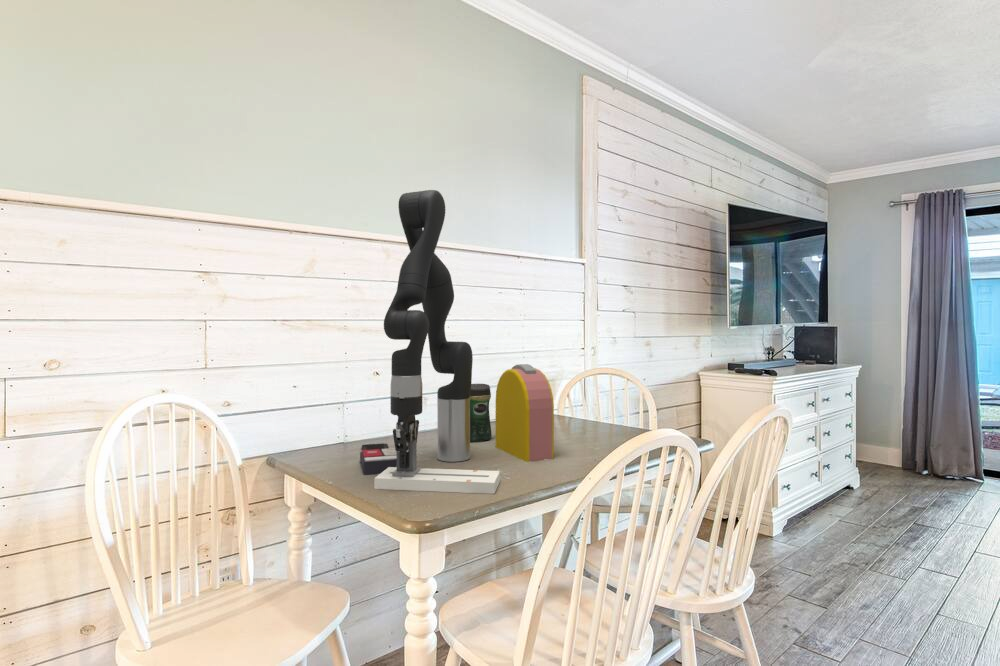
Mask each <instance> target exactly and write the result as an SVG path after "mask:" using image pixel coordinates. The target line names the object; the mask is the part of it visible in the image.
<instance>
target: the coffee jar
mask: <svg viewBox="0 0 1000 666" xmlns="http://www.w3.org/2000/svg"><path fill="white" fill-rule="evenodd" d="M491 393H492V392H491V387H490V385H489V384H486V383H471V390H470V443H472V442H473V443H475V442H485V441H489V440H491V439H492V428H491V427H492V426H491V418H490V400H491V398H492V394H491Z"/></svg>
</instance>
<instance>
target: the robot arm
mask: <svg viewBox="0 0 1000 666" xmlns="http://www.w3.org/2000/svg"><path fill="white" fill-rule="evenodd" d="M445 202H446V201H445V199H444V197H443V195H442V193H441V192H440V191H438V190H435V189H427V190H420V191H419V190H418V191H411V192H405V193H403V194H401V195H400V197H399V199H398V212H399V213H398V215H399V218H400V223H401V225H402V229H403V232H404V235H405V238H406V242H407V244H408V248H409V253H408V254H407V255H406V257H405V258H404V261H403V262H402V265H401V267H400V270H399V276H398V281H397V286H396V287H397V288H396V292H395V294H394V296H393V299H392V301H391V303H390V306H389V307H388V309H387V311H386V313H385V317H384V320H383V331H384V334H385V335H386V336H387V338H389V339H390V340H396V341H397V340H400V341H401V340H405V341H408V340H410V341H409V343H408V346H407V347H405V348H402V349H397V350H395V351H393V352H392V353H391V379H390V414H391V415H393V416H397V422H396V424H395V428H393V429H392V435H393V442H394V448H395V450H396V451H398V452H399V467H400V468H406V469H407V468H408V467H409V451H410V449H409V448H410V442H412V439H417V440H418V436H419V435H418V434H419V428H420V420H419V419H416V416H419V415H420V414H423V377H422V358H423V353H424V348H425V344H426V340H427V337H428V346H429V355H430V361H431V364H432V367H433V369H434V370H435V372H437V373H438V374H443V375H444V374H445V375H446V374H448V375H451V374H452V375H453V379H452V381H451V382H450V383H447V384H446V385H443V386H440V387H438V388H437V391H436V393H437V397H436V398H437V399H436V400H437V402H436V403H437V406H436V407H437V459H438V460H439V461H442V462H447V463H448V462H451V463H452V462H453V463H455V462H464V461H468V460H469V459H470V457H471V451H470V450H471V445H470V444H471V442H470V390H471V384H472V379H473V378H472V376H473V360H474V359H473V350H472V347H471V345H470V344H469V343H468V342H466V341H450V340H449V341H448V340H447V338H446V331H445V330H446V329H445V325H446V322H447V318H448V316H449V314H450V311H451V309H452V306H453V303H454V300H455V292H454V286H453V280H452V276H451V273H450V271H449V269H448V267H447V266H446V264H444V262H443V261H442V260H441V259H440V258H439V257H438V255H437V254H436V252H435V251H436V250H437V249H436V248H437V245H438V243H439V240H440V236H441V232H442V229H443V227H444V222H445V219H446V218H445V217H446V203H445ZM420 304H421V305H422V309H423V311H422V310H420V309H417V310H416V309H413V310H412V309H410V308H411V307H413V306H417V305H420ZM409 309H410V310H409ZM402 444H403V446H402Z"/></svg>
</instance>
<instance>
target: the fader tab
mask: <svg viewBox="0 0 1000 666" xmlns="http://www.w3.org/2000/svg"><path fill="white" fill-rule="evenodd" d="M417 443H418V438H417V439H412V442H410V448H409V449H410V451H409V467H408V468H407V469H406V468H400V467H399V452H398V451H397V469H396V470H395V471H394V472H393V473H392V476H400V477H414V476H415V475H416V474H417V473H418V472H419V471H420V468H421V466H417V463H418V461H417V458H418V457H417V455H418V454H417V448H418V447H417V446H418V444H417ZM402 446H403V444H402Z"/></svg>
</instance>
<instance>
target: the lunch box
mask: <svg viewBox="0 0 1000 666" xmlns="http://www.w3.org/2000/svg"><path fill="white" fill-rule="evenodd" d="M554 412H555V407H554V396H553V391H552V388H551V384H550V381H549V380H548V378H547V376H546V375H545V374H544V373H543V371H541V370H540V369H538V368H535V367H533V366H532V364H528V363H526V364H522V363H521V364H515V365H514V366H512V367H511V368H509V369H506V370H505V371H503V373H502V374H501V375H500V377H499V379H498V382H497V385H496V390H495V448H496V449H499V450H500V451H502V452H504V451H505V453H506V452H507V453H506V454H509V455H511V456H513V457H515V458H517V459H520V460H521V459H522V460H521V461H523V460H524V462H525V461H526V463H529V462H530V461H531V462H537V461H536V460H540V461H545V460H544V459H548V460H553V459H552V458H554V453H555V451H554V450H555V449H554V447H555V445H554V444H555V442H554V440H555V437H554V436H555V433H554V432H555V427H554V425H555V424H554V423H555V420H554V419H555V417H554V416H555V413H554Z"/></svg>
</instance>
